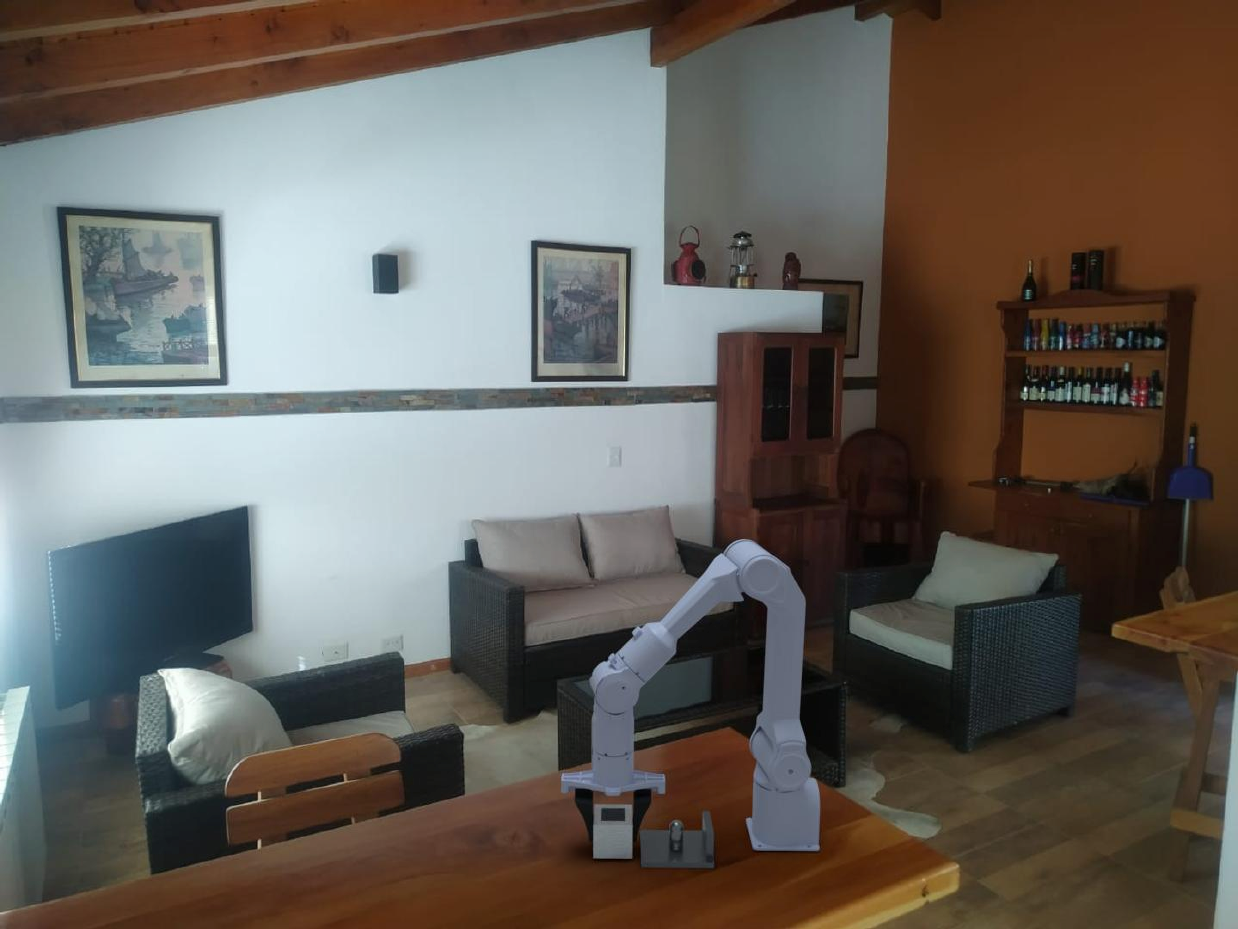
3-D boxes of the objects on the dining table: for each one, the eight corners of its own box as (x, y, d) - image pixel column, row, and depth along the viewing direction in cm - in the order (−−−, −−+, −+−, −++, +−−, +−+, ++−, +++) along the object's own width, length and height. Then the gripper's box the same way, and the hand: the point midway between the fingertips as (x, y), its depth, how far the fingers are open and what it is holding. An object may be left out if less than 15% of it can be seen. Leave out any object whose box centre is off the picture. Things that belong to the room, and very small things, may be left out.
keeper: (708, 836, 130) (709, 806, 129) (713, 868, 122) (714, 837, 121) (640, 835, 130) (640, 805, 129) (641, 867, 122) (641, 836, 121)
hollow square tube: (631, 837, 129) (632, 804, 128) (632, 858, 123) (632, 825, 123) (594, 836, 129) (594, 804, 128) (593, 858, 123) (593, 825, 123)
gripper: (559, 761, 120) (559, 854, 122) (666, 761, 120) (665, 854, 122) (562, 737, 127) (563, 826, 129) (664, 738, 127) (663, 826, 129)
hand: (612, 838), depth 126 cm, fingers closed on hollow square tube, 5 cm apart
